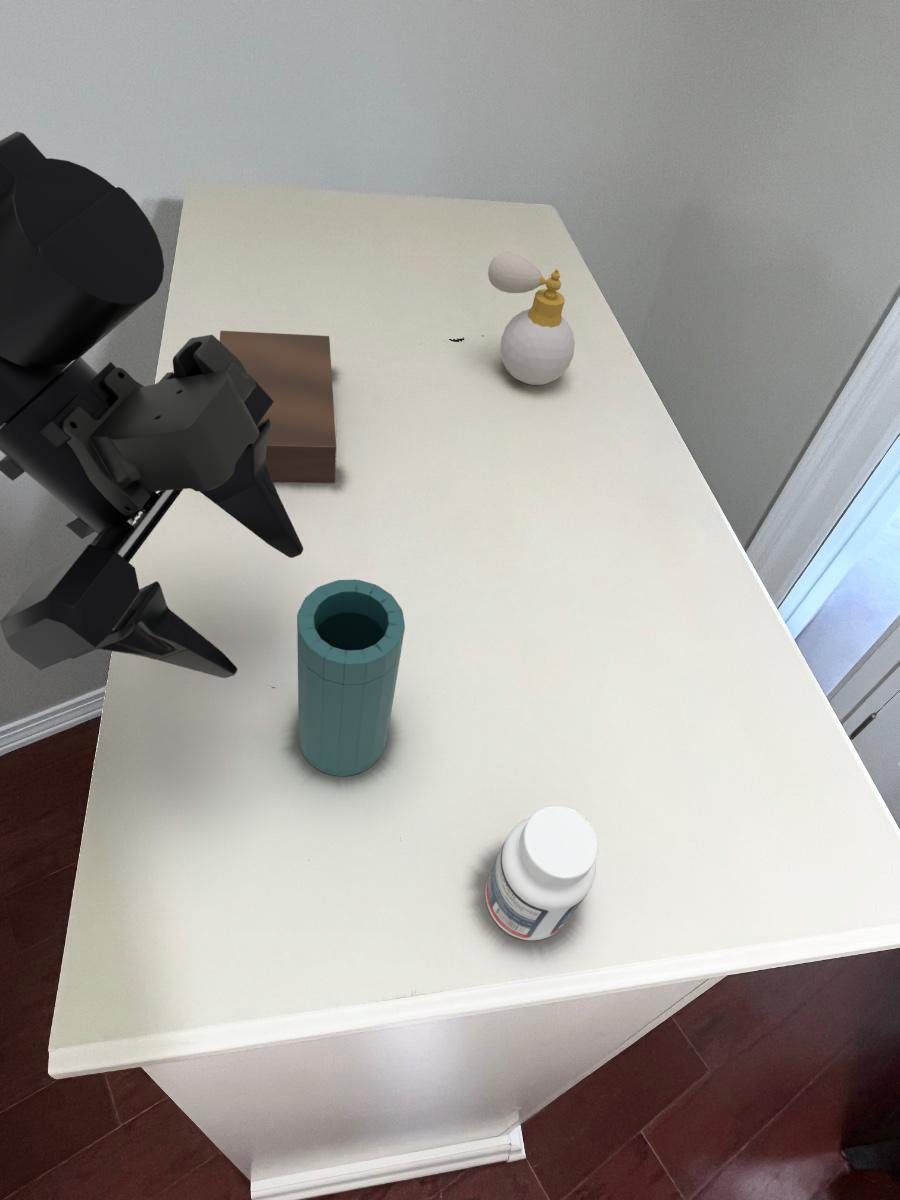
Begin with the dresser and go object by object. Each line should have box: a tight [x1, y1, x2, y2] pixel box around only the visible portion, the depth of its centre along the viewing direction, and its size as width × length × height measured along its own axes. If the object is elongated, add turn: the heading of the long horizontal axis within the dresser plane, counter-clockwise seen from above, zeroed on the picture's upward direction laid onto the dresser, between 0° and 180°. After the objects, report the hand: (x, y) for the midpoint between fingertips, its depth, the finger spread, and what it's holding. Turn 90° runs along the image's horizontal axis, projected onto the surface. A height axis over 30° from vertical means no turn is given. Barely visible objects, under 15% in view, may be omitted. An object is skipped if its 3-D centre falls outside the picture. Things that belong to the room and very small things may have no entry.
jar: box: [296, 579, 406, 777], centre depth 48 cm, size 6×6×13 cm
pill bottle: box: [485, 805, 599, 941], centre depth 45 cm, size 5×5×9 cm
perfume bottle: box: [487, 252, 576, 386], centre depth 78 cm, size 8×10×12 cm
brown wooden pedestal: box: [219, 330, 337, 484], centre depth 71 cm, size 16×10×4 cm, turn 7°
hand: (267, 610), depth 45 cm, fingers open, 9 cm apart
